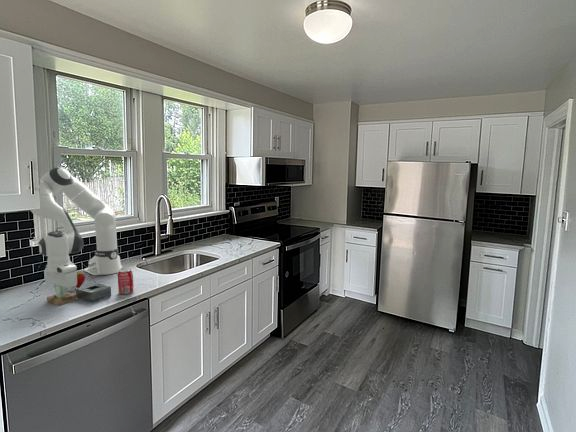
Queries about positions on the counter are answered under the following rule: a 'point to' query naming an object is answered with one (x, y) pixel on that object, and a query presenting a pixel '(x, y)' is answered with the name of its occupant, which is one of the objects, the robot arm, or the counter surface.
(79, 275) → the strawberry
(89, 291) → the port block
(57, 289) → the plug
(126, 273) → the soda can
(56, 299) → the wooden square frame
